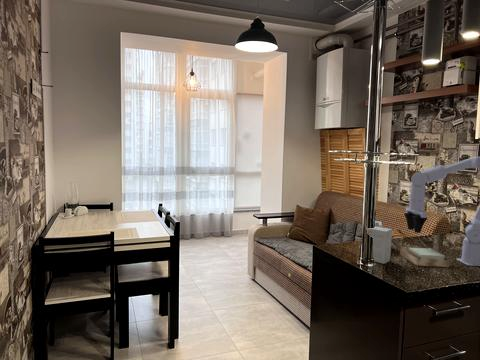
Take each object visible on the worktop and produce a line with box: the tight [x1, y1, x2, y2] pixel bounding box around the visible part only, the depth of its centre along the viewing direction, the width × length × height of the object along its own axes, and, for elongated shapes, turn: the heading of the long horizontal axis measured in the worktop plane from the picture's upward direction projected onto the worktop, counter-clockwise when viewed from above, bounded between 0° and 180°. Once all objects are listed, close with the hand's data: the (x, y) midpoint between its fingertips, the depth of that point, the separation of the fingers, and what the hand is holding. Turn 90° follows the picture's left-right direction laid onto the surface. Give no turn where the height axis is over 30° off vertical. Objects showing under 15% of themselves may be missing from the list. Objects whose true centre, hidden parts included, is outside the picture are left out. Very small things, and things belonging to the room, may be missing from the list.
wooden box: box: [399, 246, 451, 268], centre depth 147 cm, size 13×14×4 cm
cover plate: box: [408, 247, 446, 260], centre depth 146 cm, size 9×10×2 cm
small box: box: [366, 226, 393, 265], centre depth 144 cm, size 8×6×13 cm
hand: (414, 230), depth 156 cm, fingers open, 5 cm apart
